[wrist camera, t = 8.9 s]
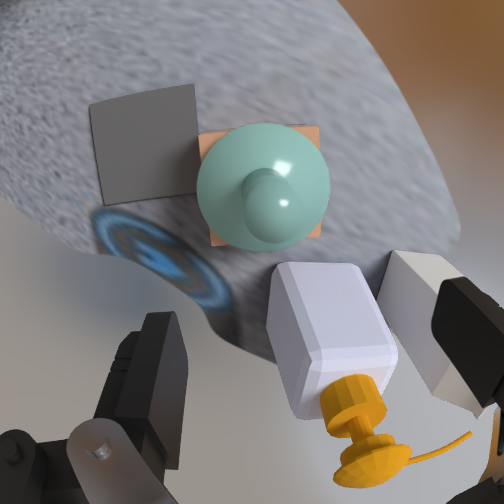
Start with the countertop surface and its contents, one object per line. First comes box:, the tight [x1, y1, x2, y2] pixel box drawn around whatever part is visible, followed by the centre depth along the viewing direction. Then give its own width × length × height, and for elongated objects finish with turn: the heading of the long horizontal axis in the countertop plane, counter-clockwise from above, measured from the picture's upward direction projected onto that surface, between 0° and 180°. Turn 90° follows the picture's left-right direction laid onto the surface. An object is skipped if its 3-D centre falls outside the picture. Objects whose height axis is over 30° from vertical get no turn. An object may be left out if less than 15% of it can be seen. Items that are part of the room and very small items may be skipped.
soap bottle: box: [266, 262, 473, 488], centre depth 25 cm, size 10×14×22 cm
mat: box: [90, 84, 201, 205], centre depth 27 cm, size 10×10×1 cm
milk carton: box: [376, 250, 488, 419], centre depth 26 cm, size 7×7×19 cm
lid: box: [197, 123, 330, 252], centre depth 21 cm, size 10×10×7 cm
